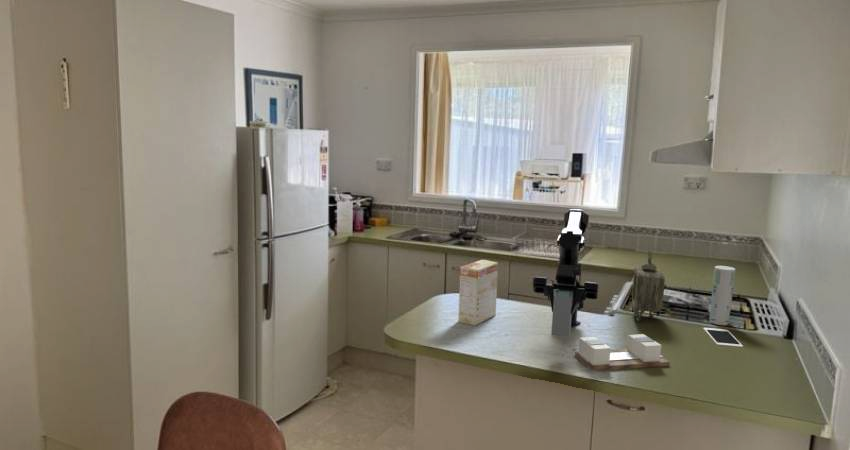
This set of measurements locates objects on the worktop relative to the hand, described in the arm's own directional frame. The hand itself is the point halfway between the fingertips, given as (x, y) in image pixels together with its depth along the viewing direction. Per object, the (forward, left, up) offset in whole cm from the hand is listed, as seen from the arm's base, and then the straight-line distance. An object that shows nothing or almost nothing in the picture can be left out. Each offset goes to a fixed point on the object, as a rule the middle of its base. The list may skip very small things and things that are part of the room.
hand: (562, 312), depth 170 cm
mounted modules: (-12, +13, -12) cm, 21 cm away
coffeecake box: (-7, -39, -14) cm, 42 cm away
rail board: (-12, +13, -14) cm, 22 cm away
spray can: (-73, +17, -14) cm, 76 cm away
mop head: (-56, -2, -14) cm, 58 cm away
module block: (-1, -1, -7) cm, 7 cm away
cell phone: (-58, +24, -14) cm, 64 cm away
